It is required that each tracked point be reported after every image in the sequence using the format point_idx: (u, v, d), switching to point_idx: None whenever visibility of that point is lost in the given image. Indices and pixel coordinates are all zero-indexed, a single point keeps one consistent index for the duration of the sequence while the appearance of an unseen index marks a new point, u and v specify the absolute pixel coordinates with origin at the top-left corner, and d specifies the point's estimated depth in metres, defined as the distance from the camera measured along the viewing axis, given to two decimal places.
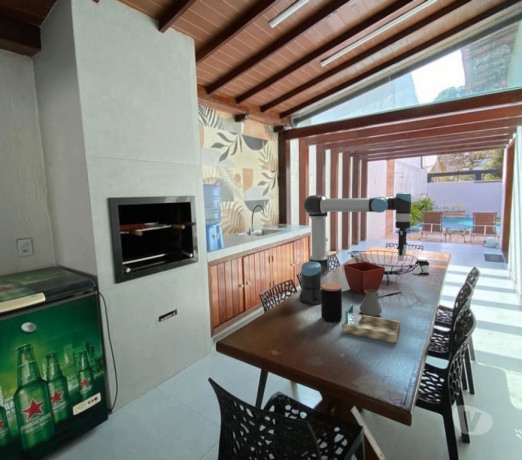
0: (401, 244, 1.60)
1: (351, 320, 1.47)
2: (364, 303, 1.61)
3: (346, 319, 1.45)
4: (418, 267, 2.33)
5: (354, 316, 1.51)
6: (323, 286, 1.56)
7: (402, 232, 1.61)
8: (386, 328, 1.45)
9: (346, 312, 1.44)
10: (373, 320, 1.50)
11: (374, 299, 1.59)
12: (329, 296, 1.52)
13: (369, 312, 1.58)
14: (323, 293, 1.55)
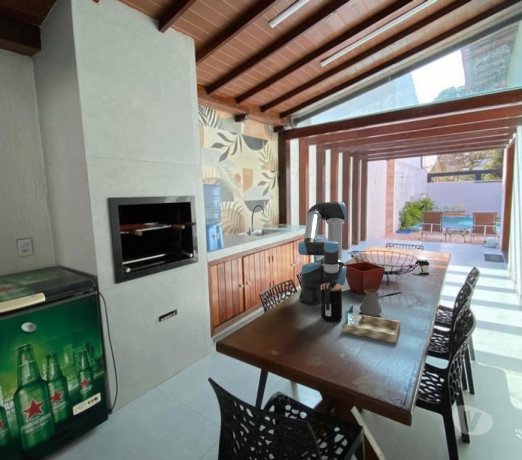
0: (327, 299, 1.50)
1: (351, 320, 1.47)
2: (364, 303, 1.61)
3: (346, 319, 1.45)
4: (418, 267, 2.33)
5: (354, 316, 1.51)
6: (323, 286, 1.56)
7: (328, 286, 1.50)
8: (386, 328, 1.45)
9: (346, 312, 1.44)
10: (373, 320, 1.50)
11: (374, 299, 1.59)
12: None
13: (369, 312, 1.58)
14: (323, 293, 1.55)
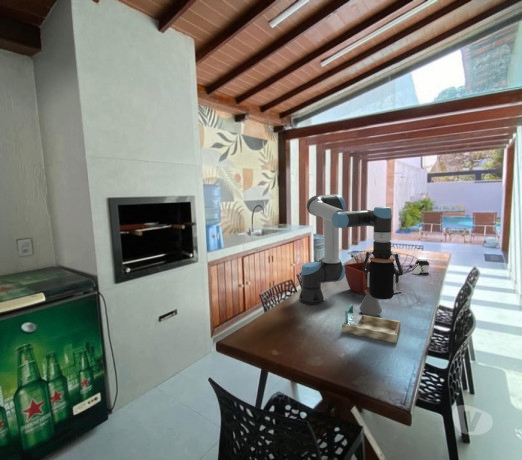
0: (362, 266, 1.42)
1: (351, 320, 1.47)
2: (364, 303, 1.61)
3: (346, 319, 1.45)
4: (418, 267, 2.33)
5: (354, 316, 1.51)
6: None
7: (366, 253, 1.40)
8: (386, 328, 1.45)
9: (346, 312, 1.44)
10: (373, 320, 1.50)
11: (374, 299, 1.59)
12: None
13: (369, 312, 1.58)
14: None
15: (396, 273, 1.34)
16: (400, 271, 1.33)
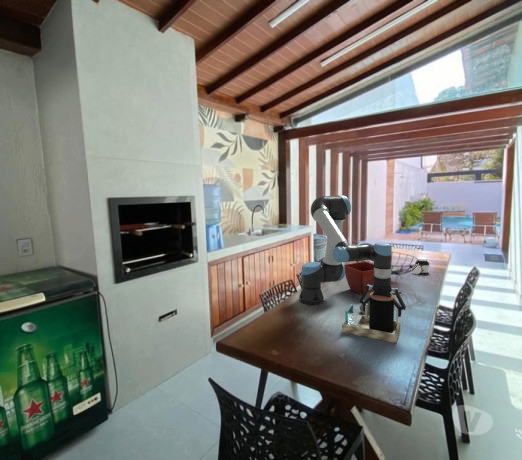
0: (361, 297, 1.44)
1: (351, 320, 1.47)
2: None
3: (346, 319, 1.45)
4: (418, 267, 2.33)
5: (354, 316, 1.51)
6: None
7: (366, 286, 1.42)
8: None
9: (346, 312, 1.44)
10: None
11: None
12: None
13: None
14: None
15: (398, 307, 1.35)
16: (402, 306, 1.34)
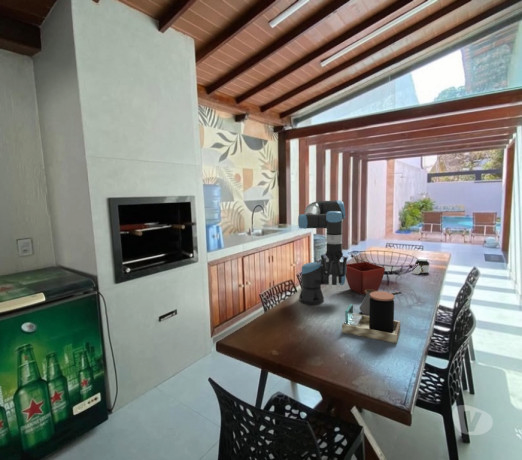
0: None
1: (351, 320, 1.47)
2: (364, 303, 1.61)
3: (346, 319, 1.45)
4: (418, 267, 2.33)
5: (354, 316, 1.51)
6: (377, 291, 1.44)
7: None
8: None
9: (346, 312, 1.44)
10: None
11: None
12: None
13: None
14: None
15: (339, 274, 1.47)
16: (343, 272, 1.46)
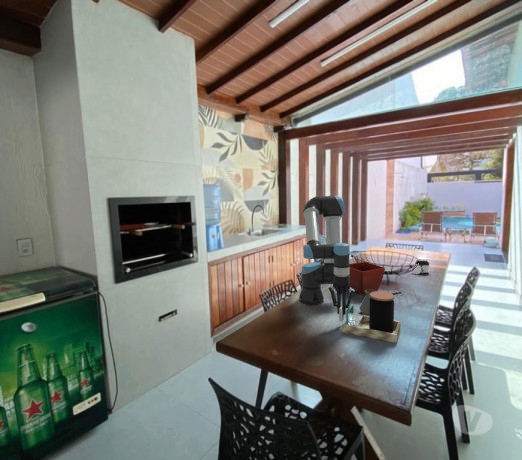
0: None
1: (352, 320, 1.47)
2: (364, 303, 1.61)
3: (347, 319, 1.44)
4: (418, 267, 2.33)
5: (355, 316, 1.51)
6: (377, 291, 1.44)
7: None
8: None
9: (347, 312, 1.44)
10: None
11: None
12: None
13: None
14: None
15: (343, 306, 1.48)
16: (347, 305, 1.47)
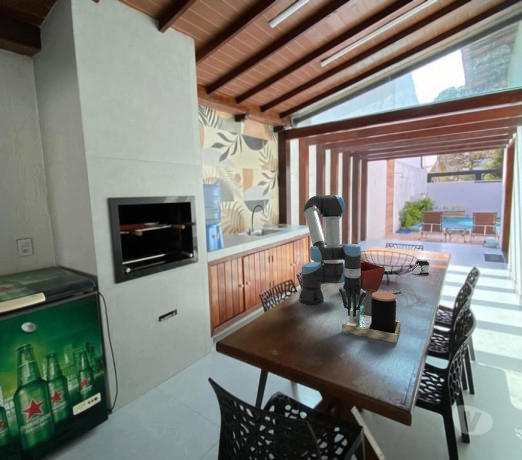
0: None
1: (363, 322, 1.44)
2: (364, 303, 1.61)
3: (358, 321, 1.42)
4: (418, 267, 2.33)
5: (365, 318, 1.48)
6: (379, 292, 1.43)
7: None
8: None
9: (358, 314, 1.41)
10: None
11: None
12: (371, 301, 1.42)
13: (369, 312, 1.58)
14: None
15: (354, 308, 1.46)
16: (358, 306, 1.44)
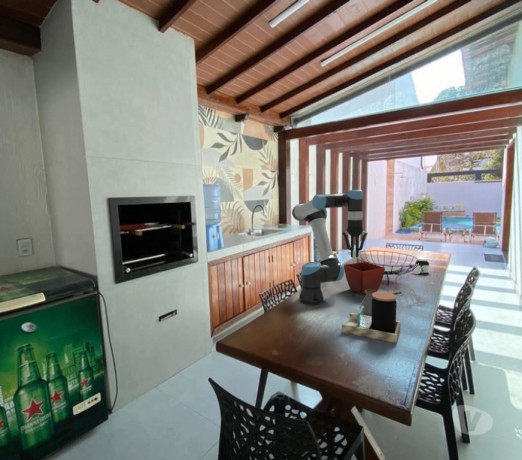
0: None
1: (363, 322, 1.44)
2: (364, 303, 1.61)
3: (358, 321, 1.42)
4: (418, 267, 2.33)
5: (366, 318, 1.48)
6: (379, 292, 1.43)
7: None
8: None
9: (358, 314, 1.41)
10: None
11: None
12: None
13: (369, 312, 1.58)
14: None
15: (357, 249, 1.59)
16: (360, 247, 1.58)
